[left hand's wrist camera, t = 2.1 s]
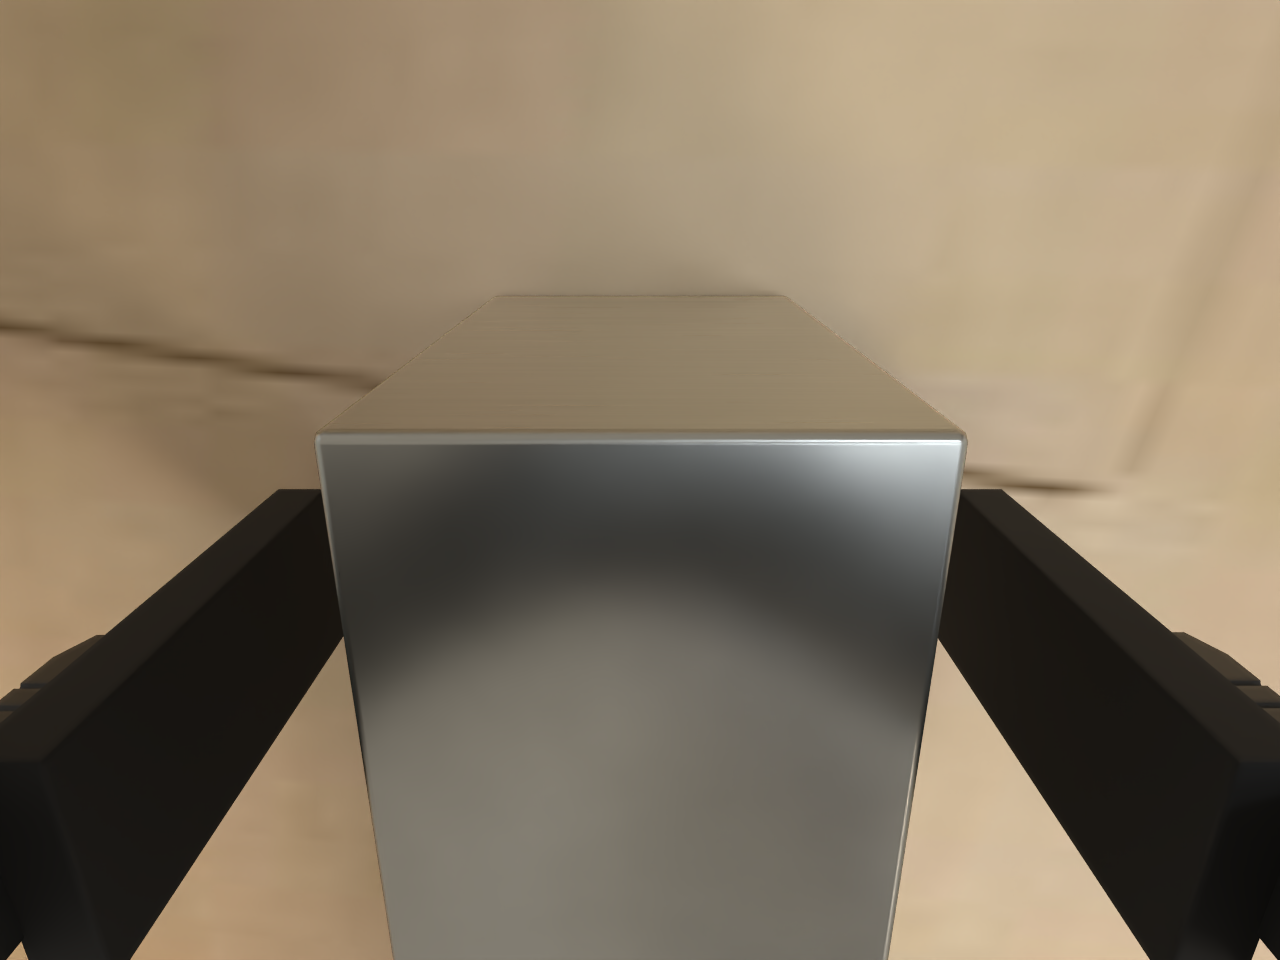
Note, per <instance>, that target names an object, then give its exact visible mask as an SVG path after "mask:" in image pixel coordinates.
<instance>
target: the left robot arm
mask: <svg viewBox="0 0 1280 960" xmlns="http://www.w3.org/2000/svg"><path fill="white" fill-rule="evenodd" d="M343 636H344V635H343V628H342V622H341V615H340V609H339V602H338V596H337V589H336V583H335V576H334V570H333V563H332V557H331V550H330V544H329V537H328V531H327V524H326V518H325V511H324V505H323V498H322V492H321V489H278V490H277V491H276V492H275V493H274V494H272V495H271V496H270V497H269V498H268V499H266V500H265V501H264V502H263V503H262V504H261V505H259V506H258V507H257V508H256V509H255V510H253V511H252V512H251V513H250V514H249V515H247V516H246V517H245V518H244V519H243V520H241V521H240V522H239V523H238V524H237V525H235V526H234V527H233V528H232V529H231V530H230V531H228V532H227V533H226V534H225V535H224V536H222V537H221V538H220V539H219V540H218V541H216V542H215V543H214V544H213V545H212V546H210V547H209V548H208V549H207V550H206V551H204V552H203V553H202V554H201V555H200V556H199V557H197V558H196V559H195V560H194V561H193V562H191V563H190V564H189V565H188V566H187V567H185V568H184V569H183V570H182V571H181V572H179V573H178V574H177V575H176V576H175V577H174V578H172V579H171V580H170V581H169V582H168V583H166V584H165V585H164V586H163V587H162V588H160V589H159V590H158V591H157V592H156V593H154V594H153V595H152V596H151V597H150V598H148V599H147V600H146V601H145V602H144V603H143V604H141V605H140V606H139V607H138V608H137V609H135V610H134V611H133V612H132V613H131V614H129V615H128V616H127V617H126V618H125V619H123V620H122V621H121V622H120V623H119V624H117V625H116V626H115V627H114V628H113V629H112V630H110V631H109V632H108V633H107V634H106V635H96V636H94V637H92V638H90V639H88V640H86V641H84V642H82V643H80V644H78V645H76V646H74V647H72V648H70V649H69V650H67V651H65V652H63V653H61V654H59V655H57V656H55V657H53V658H52V659H51V660H49V661H48V662H47V663H46V664H44V665H43V666H42V667H41V668H39V669H38V670H37V671H36V672H34V673H33V674H32V675H31V676H29V677H28V678H27V679H26V680H24V681H23V682H22V683H21V686H20V689H13V690H12V691H11V692H9V693H8V694H7V695H6V696H4V697H3V698H2V699H1V700H0V960H6V959H7V958H8V957H9V956H10V955H11V953H12V952H13V951H14V950H15V948H16V947H17V946H18V945H19V944H20V942H21V941H22V944H23V946H24V949H25V952H26V954H27V957H28V960H130V959H131V958H132V956H133V954H134V953H135V951H136V950H137V948H138V947H139V945H140V944H141V942H142V941H143V939H144V938H145V936H146V935H147V933H148V932H149V930H150V929H151V927H152V926H153V924H154V923H155V921H156V920H157V918H158V917H159V915H160V914H161V912H162V910H163V909H164V907H165V906H166V904H167V903H168V901H169V900H170V898H171V897H172V895H173V894H174V892H175V891H176V889H177V888H178V886H179V885H180V883H181V882H182V880H183V879H184V877H185V876H186V874H187V873H188V871H189V870H190V868H191V866H192V865H193V863H194V862H195V860H196V859H197V857H198V856H199V854H200V853H201V851H202V850H203V848H204V847H205V845H206V844H207V842H208V841H209V839H210V838H211V836H212V835H213V833H214V832H215V830H216V829H217V827H218V826H219V824H220V822H221V821H222V819H223V818H224V816H225V815H226V813H227V812H228V810H229V809H230V807H231V806H232V804H233V803H234V801H235V800H236V798H237V797H238V795H239V794H240V792H241V791H242V789H243V788H244V786H245V785H246V783H247V782H248V780H249V778H250V777H251V775H252V774H253V772H254V771H255V769H256V768H257V766H258V765H259V763H260V762H261V760H262V759H263V757H264V756H265V754H266V753H267V751H268V750H269V748H270V747H271V745H272V744H273V742H274V741H275V739H276V738H277V736H278V735H279V733H280V731H281V730H282V728H283V727H284V725H285V724H286V722H287V721H288V719H289V718H290V716H291V715H292V713H293V712H294V710H295V709H296V707H297V706H298V704H299V703H300V701H301V700H302V698H303V697H304V695H305V694H306V692H307V691H308V689H309V687H310V686H311V684H312V683H313V681H314V680H315V678H316V677H317V675H318V674H319V672H320V671H321V669H322V668H323V666H324V665H325V663H326V662H327V660H328V659H329V657H330V656H331V654H332V653H333V651H334V650H335V648H336V647H337V645H338V643H339V642H340V640H341V639H342V637H343ZM938 639H939V640H940V642H941V643H942V645H943V646H944V648H945V650H946V651H947V653H948V654H949V656H950V657H951V659H952V660H953V662H954V663H955V665H956V666H957V668H958V669H959V671H960V672H961V674H962V675H963V677H964V678H965V680H966V681H967V683H968V684H969V686H970V687H971V689H972V690H973V692H974V694H975V695H976V697H977V698H978V700H979V701H980V703H981V704H982V706H983V707H984V709H985V710H986V712H987V713H988V715H989V716H990V718H991V719H992V721H993V722H994V724H995V725H996V727H997V728H998V730H999V731H1000V733H1001V734H1002V736H1003V738H1004V739H1005V741H1006V742H1007V744H1008V745H1009V747H1010V748H1011V750H1012V751H1013V753H1014V754H1015V756H1016V757H1017V759H1018V760H1019V762H1020V763H1021V765H1022V766H1023V768H1024V769H1025V771H1026V772H1027V774H1028V775H1029V777H1030V778H1031V780H1032V782H1033V783H1034V785H1035V786H1036V788H1037V789H1038V791H1039V792H1040V794H1041V795H1042V797H1043V798H1044V800H1045V801H1046V803H1047V804H1048V806H1049V807H1050V809H1051V810H1052V812H1053V813H1054V815H1055V816H1056V818H1057V819H1058V821H1059V822H1060V824H1061V826H1062V827H1063V829H1064V830H1065V832H1066V833H1067V835H1068V836H1069V838H1070V839H1071V841H1072V842H1073V844H1074V845H1075V847H1076V848H1077V850H1078V851H1079V853H1080V854H1081V856H1082V857H1083V859H1084V860H1085V862H1086V863H1087V865H1088V866H1089V868H1090V870H1091V871H1092V873H1093V874H1094V876H1095V877H1096V879H1097V880H1098V882H1099V883H1100V885H1101V886H1102V888H1103V889H1104V891H1105V892H1106V894H1107V895H1108V897H1109V898H1110V900H1111V901H1112V903H1113V904H1114V906H1115V907H1116V909H1117V910H1118V912H1119V913H1120V915H1121V917H1122V918H1123V920H1124V921H1125V923H1126V924H1127V926H1128V927H1129V929H1130V930H1131V932H1132V933H1133V935H1134V936H1135V938H1136V939H1137V941H1138V942H1139V944H1140V945H1141V947H1142V948H1143V950H1144V951H1145V953H1146V954H1147V956H1148V957H1149V959H1150V960H1252V957H1253V954H1254V952H1255V949H1256V947H1257V944H1258V941H1259V939H1261V940H1262V941H1263V943H1264V944H1265V945H1266V946H1267V947H1268V949H1269V950H1270V951H1271V952H1272V954H1273V955H1274V956H1275V957H1276V958H1277V960H1280V696H1279V695H1278V694H1277V693H1275V692H1274V691H1273V690H1272V689H1270V688H1269V687H1268V686H1261V683H1260V680H1259V679H1258V678H1257V677H1255V676H1254V675H1253V674H1252V673H1250V672H1249V671H1248V670H1247V669H1245V668H1244V667H1243V666H1241V665H1240V664H1239V663H1238V662H1236V661H1235V660H1234V659H1233V658H1231V657H1230V656H1229V655H1228V654H1226V653H1224V652H1222V651H1220V650H1218V649H1216V648H1214V647H1212V646H1210V645H1208V644H1206V643H1204V642H1202V641H1200V640H1198V639H1196V638H1194V637H1192V636H1190V635H1188V634H1186V633H1184V632H1171V631H1170V630H1168V629H1167V628H1166V627H1165V626H1164V625H1163V624H1161V623H1160V622H1159V621H1158V620H1157V619H1155V618H1154V617H1153V616H1152V615H1151V614H1149V613H1148V612H1147V611H1146V610H1145V609H1143V608H1142V607H1141V606H1140V605H1139V604H1137V603H1136V602H1135V601H1134V600H1133V599H1132V598H1130V597H1129V596H1128V595H1127V594H1126V593H1124V592H1123V591H1122V590H1121V589H1120V588H1118V587H1117V586H1116V585H1115V584H1114V583H1112V582H1111V581H1110V580H1109V579H1108V578H1107V577H1105V576H1104V575H1103V574H1102V573H1101V572H1099V571H1098V570H1097V569H1096V568H1095V567H1093V566H1092V565H1091V564H1090V563H1089V562H1087V561H1086V560H1085V559H1084V558H1083V557H1081V556H1080V555H1079V554H1078V553H1077V552H1076V551H1074V550H1073V549H1072V548H1071V547H1070V546H1068V545H1067V544H1066V543H1065V542H1064V541H1062V540H1061V539H1060V538H1059V537H1058V536H1056V535H1055V534H1054V533H1053V532H1052V531H1050V530H1049V529H1048V528H1047V527H1046V526H1045V525H1043V524H1042V523H1041V522H1040V521H1039V520H1037V519H1036V518H1035V517H1034V516H1033V515H1031V514H1030V513H1029V512H1028V511H1027V510H1025V509H1024V508H1023V507H1022V506H1021V505H1020V504H1018V503H1017V502H1016V501H1015V500H1014V499H1012V498H1011V497H1010V496H1009V495H1008V494H1006V493H1005V492H1004V491H1003V490H1002V489H961V490H960V497H959V503H958V510H957V516H956V523H955V529H954V536H953V542H952V549H951V555H950V562H949V568H948V574H947V581H946V587H945V594H944V600H943V607H942V613H941V620H940V626H939V633H938Z"/></svg>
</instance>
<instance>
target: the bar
mask: <svg viewBox="0 0 1280 960" xmlns="http://www.w3.org/2000/svg"><path fill="white" fill-rule="evenodd" d="M967 445H968V440H967V437H966V433H965V432H964V431H963V430H961V429H960V428H959V427H957V426H956V425H955V424H953V423H952V422H951V421H949V420H948V419H947V418H945V417H944V416H943V415H942V414H940V413H939V412H938V411H936V410H935V409H934V408H932V407H931V406H930V405H928V404H927V403H926V402H924V401H923V400H922V399H920V398H919V397H918V396H917V395H915V394H914V393H913V392H911V391H910V390H909V389H907V388H906V387H905V386H903V385H902V384H901V383H899V382H898V381H897V380H896V379H894V378H893V377H892V376H890V375H889V374H888V373H886V372H885V371H884V370H882V369H881V368H880V367H878V366H877V365H876V364H874V363H873V362H872V361H871V360H869V359H868V358H867V357H865V356H864V355H863V354H861V353H860V352H859V351H857V350H856V349H855V348H853V347H852V346H851V345H850V344H848V343H847V342H846V341H844V340H843V339H842V338H840V337H839V336H838V335H836V334H835V333H834V332H832V331H831V330H830V329H828V328H827V327H826V326H825V325H823V324H822V323H821V322H819V321H818V320H817V319H815V318H814V317H813V316H811V315H810V314H809V313H807V312H806V311H805V310H804V309H802V308H801V307H800V306H798V305H797V304H796V303H794V302H793V301H792V300H790V299H789V298H787V297H785V296H496V297H494V298H492V299H491V300H490V301H488V302H487V303H486V304H484V305H483V306H482V307H481V308H479V309H478V310H477V311H475V312H474V313H473V314H471V315H470V316H469V317H467V318H466V319H465V320H463V321H462V322H461V323H460V324H458V325H457V326H456V327H454V328H453V329H452V330H450V331H449V332H448V333H446V334H445V335H444V336H442V337H441V338H440V339H439V340H437V341H436V342H435V343H433V344H432V345H431V346H429V347H428V348H427V349H425V350H424V351H423V352H421V353H420V354H419V355H418V356H416V357H415V358H414V359H412V360H411V361H410V362H408V363H407V364H406V365H404V366H403V367H402V368H400V369H399V370H398V371H397V372H395V373H394V374H393V375H391V376H390V377H389V378H387V379H386V380H385V381H383V382H382V383H381V384H379V385H378V386H377V387H376V388H374V389H373V390H372V391H370V392H369V393H368V394H366V395H365V396H364V397H362V398H361V399H360V400H358V401H357V402H356V403H355V404H353V405H352V406H351V407H349V408H348V409H347V410H345V411H344V412H343V413H341V414H340V415H339V416H337V417H336V418H335V419H334V420H332V421H331V422H330V423H328V424H327V425H326V426H324V427H323V428H322V429H320V430H319V431H318V432H316V436H315V439H314V446H315V453H316V459H317V466H318V472H319V479H320V485H321V492H322V498H323V505H324V511H325V518H326V524H327V531H328V537H329V544H330V550H331V557H332V563H333V570H334V576H335V583H336V589H337V596H338V602H339V609H340V615H341V622H342V628H343V635H344V641H345V648H346V654H347V661H348V667H349V674H350V680H351V687H352V693H353V700H354V706H355V713H356V719H357V726H358V732H359V739H360V745H361V752H362V758H363V765H364V771H365V778H366V784H367V791H368V797H369V804H370V810H371V817H372V823H373V830H374V836H375V843H376V849H377V856H378V862H379V869H380V875H381V882H382V888H383V895H384V901H385V908H386V914H387V921H388V927H389V934H390V940H391V947H392V953H393V960H888V956H889V950H890V943H891V937H892V930H893V924H894V917H895V911H896V904H897V898H898V891H899V885H900V878H901V872H902V865H903V859H904V853H905V846H906V840H907V833H908V827H909V820H910V814H911V807H912V801H913V794H914V788H915V781H916V775H917V768H918V762H919V756H920V749H921V743H922V736H923V730H924V723H925V717H926V710H927V704H928V697H929V691H930V684H931V678H932V671H933V665H934V659H935V652H936V646H937V639H938V633H939V626H940V620H941V613H942V607H943V600H944V594H945V587H946V581H947V574H948V568H949V562H950V555H951V549H952V542H953V536H954V529H955V523H956V516H957V510H958V503H959V497H960V490H961V484H962V477H963V471H964V465H965V458H966V452H967Z"/></svg>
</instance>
